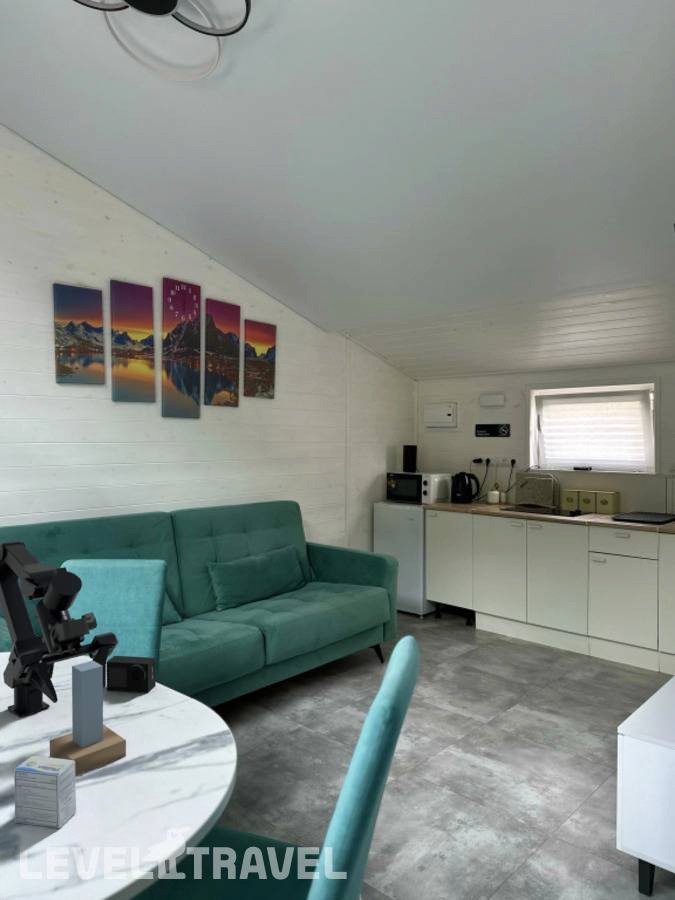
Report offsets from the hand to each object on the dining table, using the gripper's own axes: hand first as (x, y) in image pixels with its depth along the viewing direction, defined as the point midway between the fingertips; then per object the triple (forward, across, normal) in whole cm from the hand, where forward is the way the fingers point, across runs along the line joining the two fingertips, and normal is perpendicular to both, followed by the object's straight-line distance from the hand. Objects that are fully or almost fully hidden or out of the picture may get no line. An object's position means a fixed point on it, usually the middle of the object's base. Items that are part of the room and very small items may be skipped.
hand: (80, 694), depth 120 cm
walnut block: (+10, 0, +6) cm, 11 cm away
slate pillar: (+8, 0, +4) cm, 8 cm away
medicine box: (+20, -13, -4) cm, 24 cm away
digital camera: (-6, +21, +22) cm, 31 cm away
